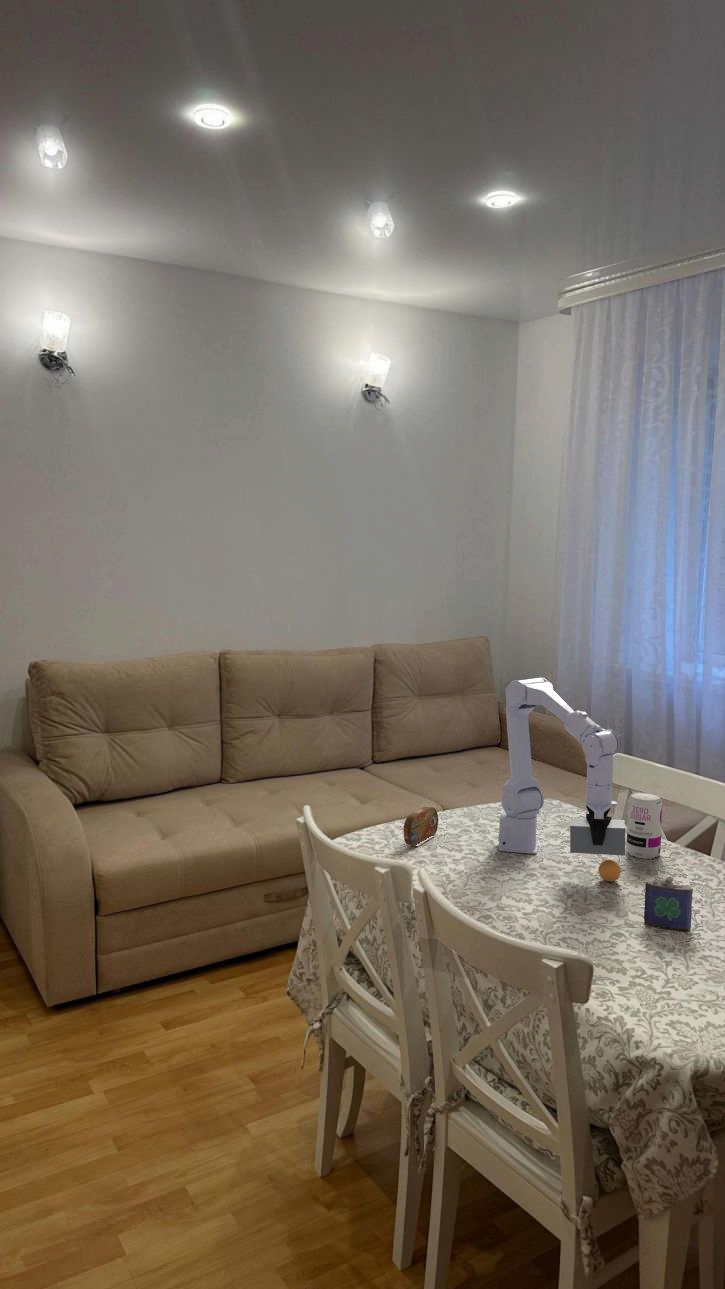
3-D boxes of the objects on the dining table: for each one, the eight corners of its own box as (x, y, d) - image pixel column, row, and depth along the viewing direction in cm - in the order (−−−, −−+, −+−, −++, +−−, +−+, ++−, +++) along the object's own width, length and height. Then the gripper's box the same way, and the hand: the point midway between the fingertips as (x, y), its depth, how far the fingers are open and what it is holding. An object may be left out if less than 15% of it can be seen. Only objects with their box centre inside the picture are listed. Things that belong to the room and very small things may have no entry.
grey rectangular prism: (570, 852, 209) (570, 825, 209) (570, 843, 215) (570, 817, 215) (625, 855, 206) (625, 828, 206) (624, 846, 212) (624, 820, 212)
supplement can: (656, 849, 232) (658, 791, 230) (663, 860, 224) (665, 801, 222) (623, 847, 233) (625, 791, 231) (629, 859, 225) (632, 800, 223)
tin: (411, 851, 230) (412, 819, 229) (401, 849, 232) (401, 817, 231) (439, 834, 243) (439, 804, 242) (428, 832, 245) (429, 802, 244)
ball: (621, 866, 207) (618, 887, 208) (622, 859, 212) (619, 879, 213) (599, 861, 209) (596, 882, 209) (600, 854, 213) (597, 874, 214)
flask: (691, 927, 186) (693, 877, 185) (690, 933, 184) (692, 882, 182) (644, 920, 190) (646, 871, 188) (642, 926, 187) (644, 876, 186)
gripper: (618, 792, 201) (616, 851, 203) (616, 775, 215) (614, 831, 217) (585, 790, 203) (583, 849, 204) (585, 774, 217) (584, 829, 218)
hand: (597, 839), depth 211 cm, fingers closed on grey rectangular prism, 6 cm apart
